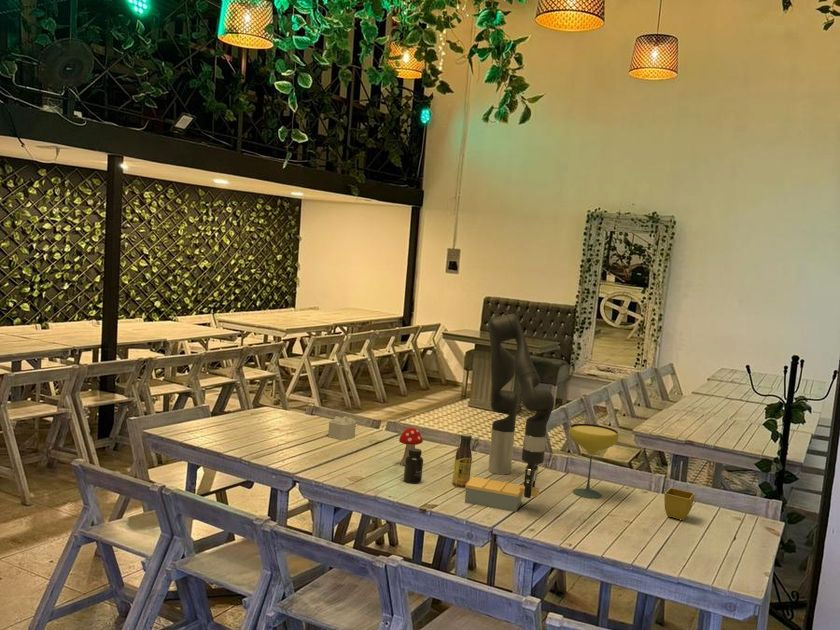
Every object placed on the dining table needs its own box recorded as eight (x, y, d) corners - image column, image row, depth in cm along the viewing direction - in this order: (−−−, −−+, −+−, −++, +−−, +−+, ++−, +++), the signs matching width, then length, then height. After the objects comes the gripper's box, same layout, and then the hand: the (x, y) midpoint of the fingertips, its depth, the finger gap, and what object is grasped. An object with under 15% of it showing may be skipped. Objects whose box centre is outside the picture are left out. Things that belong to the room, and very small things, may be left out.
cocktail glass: (559, 495, 272) (565, 429, 270) (567, 483, 289) (574, 421, 287) (608, 505, 265) (615, 438, 263) (614, 492, 282) (621, 428, 280)
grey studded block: (324, 436, 328) (326, 417, 327) (341, 431, 339) (343, 413, 339) (343, 441, 323) (345, 422, 322) (360, 436, 334) (361, 417, 334)
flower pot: (687, 524, 252) (690, 499, 251) (661, 517, 257) (664, 493, 256) (692, 517, 259) (695, 493, 259) (667, 511, 264) (670, 487, 263)
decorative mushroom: (413, 460, 302) (416, 424, 301) (424, 466, 295) (428, 429, 294) (392, 462, 296) (396, 426, 295) (404, 468, 289) (407, 431, 288)
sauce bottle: (457, 490, 268) (462, 437, 266) (448, 485, 273) (453, 433, 271) (472, 489, 271) (477, 436, 269) (463, 483, 276) (468, 432, 275)
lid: (472, 479, 262) (472, 473, 262) (540, 491, 255) (541, 485, 255) (465, 487, 252) (465, 481, 252) (536, 500, 245) (536, 494, 245)
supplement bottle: (419, 484, 270) (422, 453, 269) (401, 482, 272) (404, 450, 271) (423, 479, 277) (425, 448, 276) (405, 477, 278) (408, 446, 277)
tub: (471, 496, 262) (472, 479, 262) (520, 505, 257) (522, 488, 257) (464, 504, 253) (466, 487, 252) (515, 513, 248) (517, 496, 247)
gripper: (526, 441, 258) (521, 486, 259) (519, 450, 244) (514, 498, 245) (547, 444, 255) (542, 490, 257) (541, 454, 242) (537, 502, 243)
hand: (529, 493), depth 251 cm, fingers open, 8 cm apart
